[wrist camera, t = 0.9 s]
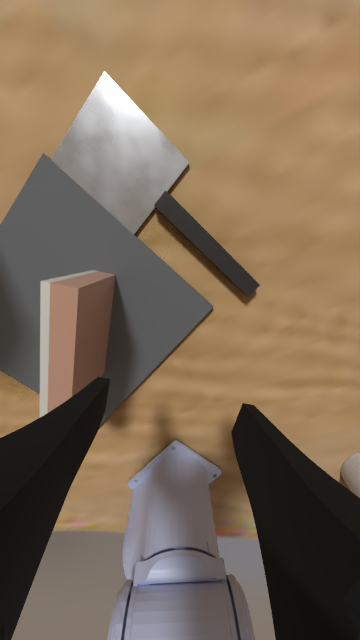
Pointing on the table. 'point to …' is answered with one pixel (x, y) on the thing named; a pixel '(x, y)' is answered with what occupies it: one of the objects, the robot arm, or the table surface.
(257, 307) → the table surface
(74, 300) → the tile
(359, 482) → the dixie cup
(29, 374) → the mat
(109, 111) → the turner
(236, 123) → the table surface
